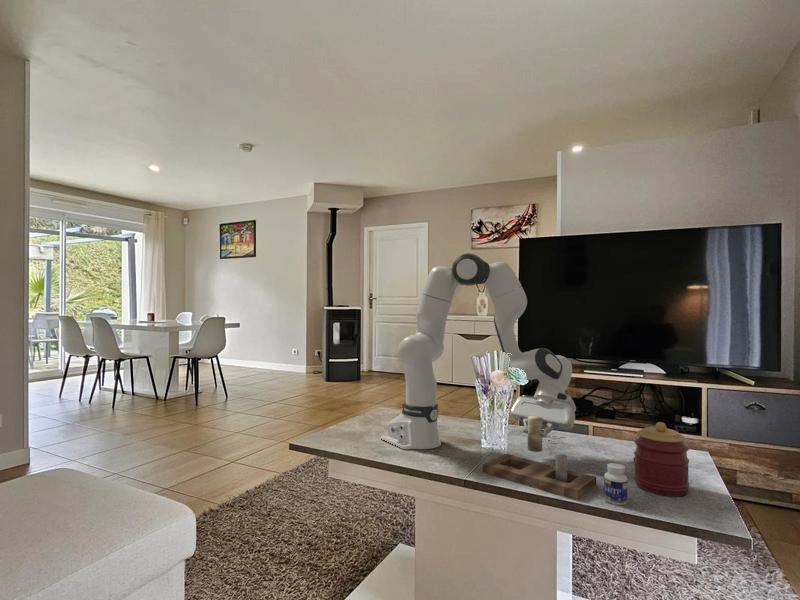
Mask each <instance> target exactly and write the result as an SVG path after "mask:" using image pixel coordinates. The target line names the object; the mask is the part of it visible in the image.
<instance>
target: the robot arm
mask: <svg viewBox="0 0 800 600" xmlns="http://www.w3.org/2000/svg"><path fill="white" fill-rule="evenodd" d="M475 285H482V286H483V287H484V288H485V289H486V291H487V293H488V295H489V297H490V300H491V302H492V305H493V308H494V309H493V310H494V316H493V323H494V328H495V332H496V334H497V338H498V342H499V345H500V347H501V351H502V353H503V352H505V353H506V354H507V353H511V354H512V355H511V354H508V356H509V355H510V356H509V357H510V361H509V367H515V368H519V369H520V370H521V369H522V370H524V372H525V373H526V376H527V380H528V381H527V382H529V381H531V380H538V382H539V383H538V386H537V388H536V391H534V392H535V393H534V395H526V394H523V395H521V396H518V397H517V399H516V401H515V403H514V404H513V406H512V408H511V409H510V415H511V417H512V419H514V421H520V422H523V428H522V431H523V433H524V434H528V417H529V416H536V417H541V418H542V426H545V428H544V429H542V430H541V432H540V435H541V437H542V438H544V439H547V438H548V437H547V436H548V435H549V433H551V432H552V431H553V430H554V428H555V429H561V430H565V431H570V430H572V429H573V427H574V424H575V420H576V413H575V412H576V411H577V407H576V404H575V402H574V400H573V398H572V396H570V395H569V394H566V392H565V391H566V390H567V389H568V387H569V385H570V382H571V380H572V375H573V365H572V362H571V361H570V360H569V359H568V358H566V357H565V356H562V355H561V354H560V355H559V354H558V355H556V354H554V352H553V351H551V350H550V349H548V348H546V347H541V348H535V349H531V350H529V351H524V352H523V351H521V350H520V348H519V343H518V341H517V337H516V334H515V330H514V326H515V323H516V322H517V320H519V318H520V317H521V316H522V315H523V314H524V313H525V310H526V309H527V305H528V298H527V295H526V292H525V290H524V288H523V286H522V284H521V281H520V280H519V278H518V276H517V274H516V273H515V272H514V270H513V268H512V267H511V265H509V263H507V262H506V261H494V262H493V263H488V262H486V261H484V260H483V259H482V258H481V257H480V256H479V255H477V254H475V253H462V254H460V255H458V256H457V257H456V258H455V259H454V260H453V262H452V265H451V266H443V265H437V266H435V267H433V268H432V269H431V270H430V271H429V274H428V275H427V278H426V279H425V282H424V284H423V288H422V291H421V293H420V297H419V301H418V305H417V308H416V312H415V316H416V330H415V334H410V335H408V336H407V337H404V338H403V339H402V340H401V341H400V343H399V344H398V346H397V357H398V358H399V361H400V362H401V364H402V367H403V368H402V369H403V375H404V378H405V402H404V403H402V404H400V407H399V408H400V409H401V408H402V410H401V413H400V414H399V415H397V416H395V417H394V418H393V419H392V420H390V422H389V423H388V426H387V431H386V433H383V435H381V436H380V440H381V439H382V440H381V441H383V440H385V441H387V442H386V443H388V442H389V443H388V444H390V443H391V444H390V445H392V444H393V445H392V446H395V445H396V446H395V447H397V446H398V447H397V448H399V447H400V448H399V449H401V448H402V450H429V449H435V448H438V447H440V446H441V445H442V442H441V438H440V433H439V425H438V417H439V416H438V415H439V404H438V399H437V398H438V395H437V394H438V381H437V379H436V377H435V374H434V368H433V363H434V362H436V361H437V360H438V359H439V358H440V357H441V356H442V354H443V353H444V348H445V347H444V342H445V341H444V339H445V331H446V324H447V320H448V316H449V312H450V309H451V305H452V303H453V300H454V295H455V292H456V290H457V288H459V286H467V287H472V286H475ZM385 441H384V442H385Z"/></svg>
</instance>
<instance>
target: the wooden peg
mask: <svg viewBox="0 0 800 600" xmlns="http://www.w3.org/2000/svg"><path fill="white" fill-rule="evenodd" d="M541 430H543V425H542V418H541V417H536V416H529V417H528V436H527V450H528V451H530V452H533V453H541V452H542V451H543V439H542V438H543V437H541V435H540V432H541Z"/></svg>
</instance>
